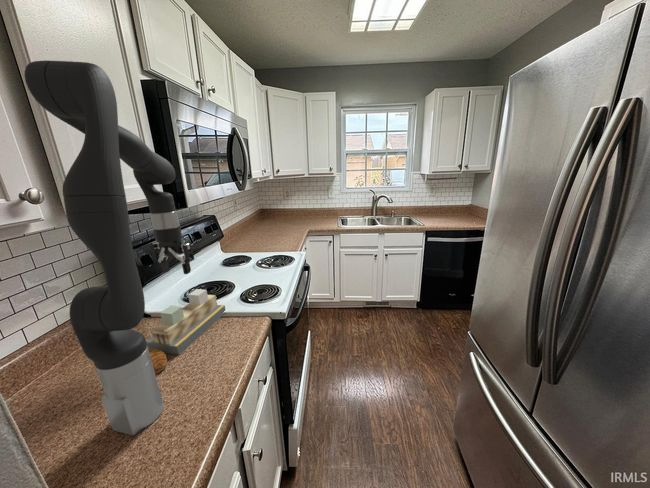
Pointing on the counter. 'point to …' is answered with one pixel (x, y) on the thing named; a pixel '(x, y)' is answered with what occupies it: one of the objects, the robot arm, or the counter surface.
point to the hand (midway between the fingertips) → (176, 272)
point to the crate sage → (172, 315)
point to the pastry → (158, 359)
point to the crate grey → (198, 297)
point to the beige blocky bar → (183, 321)
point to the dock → (189, 333)
